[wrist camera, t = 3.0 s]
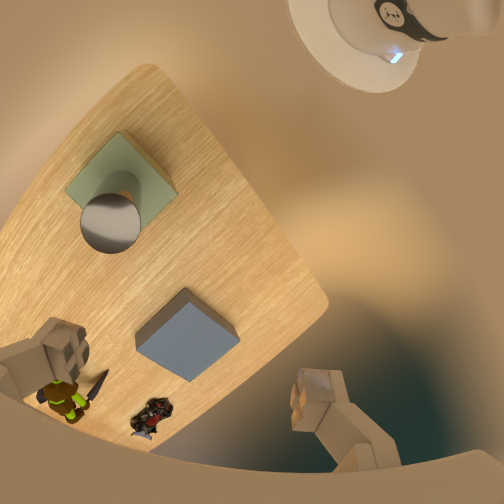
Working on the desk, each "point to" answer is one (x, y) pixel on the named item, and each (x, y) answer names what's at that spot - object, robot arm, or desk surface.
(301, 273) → the desk surface
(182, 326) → the low gray rectangular block
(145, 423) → the toy car
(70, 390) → the goblin
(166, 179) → the sage green stool
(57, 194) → the desk surface
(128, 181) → the glossy brown cylinder
